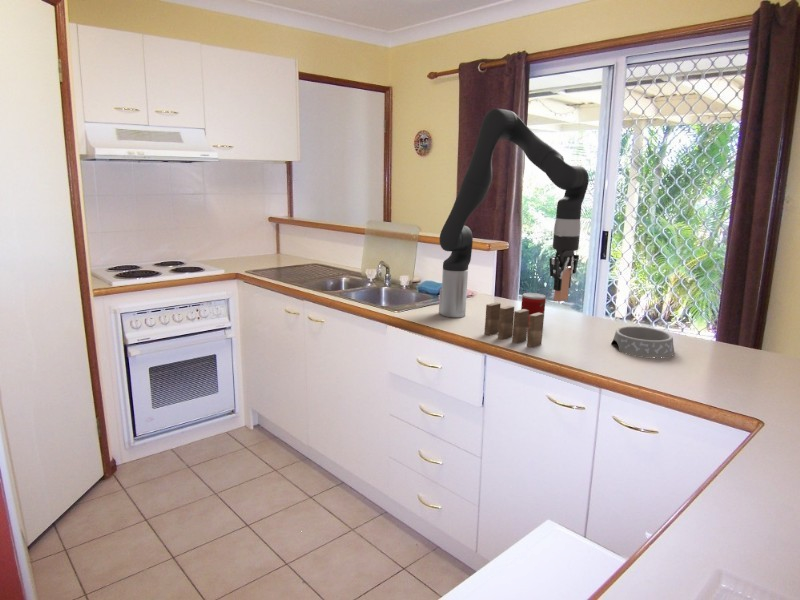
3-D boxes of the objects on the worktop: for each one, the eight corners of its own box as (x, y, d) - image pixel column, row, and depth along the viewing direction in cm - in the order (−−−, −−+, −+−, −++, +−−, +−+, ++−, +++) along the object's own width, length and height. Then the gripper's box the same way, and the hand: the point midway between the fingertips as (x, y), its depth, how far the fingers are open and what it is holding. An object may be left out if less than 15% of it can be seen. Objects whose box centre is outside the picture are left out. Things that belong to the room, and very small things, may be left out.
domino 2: (497, 337, 176) (500, 307, 174) (507, 335, 179) (509, 305, 177) (503, 339, 174) (505, 309, 172) (512, 336, 178) (514, 306, 176)
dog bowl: (625, 358, 160) (628, 341, 159) (603, 339, 178) (605, 324, 177) (684, 360, 160) (686, 342, 159) (656, 341, 178) (658, 325, 177)
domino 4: (526, 346, 168) (529, 314, 166) (535, 343, 171) (538, 312, 169) (532, 347, 167) (535, 316, 164) (541, 344, 170) (544, 313, 168)
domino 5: (553, 300, 167) (556, 268, 164) (562, 298, 170) (564, 266, 168) (559, 301, 165) (562, 269, 163) (567, 299, 169) (570, 267, 166)
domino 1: (484, 333, 180) (486, 304, 177) (493, 331, 183) (495, 302, 181) (489, 335, 178) (491, 305, 176) (498, 332, 182) (500, 303, 179)
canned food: (542, 329, 187) (545, 298, 184) (518, 327, 189) (521, 296, 187) (544, 324, 194) (546, 294, 191) (521, 321, 196) (523, 291, 194)
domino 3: (512, 341, 172) (514, 311, 170) (521, 338, 175) (523, 308, 173) (517, 343, 171) (519, 312, 168) (526, 340, 174) (528, 310, 172)
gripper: (567, 231, 171) (562, 284, 174) (543, 234, 161) (538, 290, 165) (589, 233, 165) (584, 288, 169) (566, 236, 156) (560, 294, 159)
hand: (561, 289), depth 167 cm, fingers closed on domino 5, 5 cm apart
